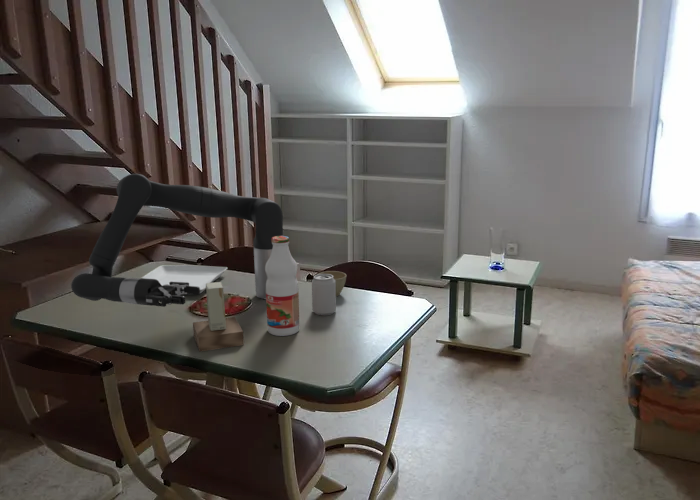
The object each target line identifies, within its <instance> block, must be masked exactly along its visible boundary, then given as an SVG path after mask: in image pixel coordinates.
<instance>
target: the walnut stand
mask: <svg viewBox="0 0 700 500" xmlns="http://www.w3.org/2000/svg"><path fill="white" fill-rule="evenodd" d="M225 321H226V329H222V330H214V331H211V330H210V327H209V321H208V320H204V321H203V320H202V321H196V322H192V330H193V337H194V340H195V343H196V346H197V348H198V351H199V352H206V351H212V350H214V351H215V350H219V349H225V348H226V349H227V348H233V347H239V346H244V345H245V343H244V342H245V341H244V331H243V329H242V327H241V325H240V324H239V321H238V320H237V318H236V317H235V316H232V317H231V316H230V317H225Z"/></svg>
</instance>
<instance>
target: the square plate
mask: <svg viewBox="0 0 700 500" xmlns="http://www.w3.org/2000/svg"><path fill="white" fill-rule="evenodd" d="M227 270H228V267H227V266H212V265H211V266H210V265H197V264H196V265H193V264H189V265H188V264H182V265H181V264H178V265H177V264H175V265H173V264H171V265H168V264H167V265H165V264H164V265H159V266H157V267H156V268H154V269H152V270H151V271H149V272H148V273H146V274H145V275H142V277H141V278H146V279H156V280H158V281H159V283H160V284H161V285H162V286H163V285H166V284H168V285H170V284H169V282H187V283H189V286H196V287H199V288H200V294H202V293H203V292H204V291H206V283H214V281H216V280H217V279H218V278H220V277H221V276H223V274H224V273H225V271H227ZM183 289H184V288H183ZM180 292H182V291H180ZM176 293H177V291H175V294H176Z"/></svg>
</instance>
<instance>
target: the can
mask: <svg viewBox="0 0 700 500" xmlns="http://www.w3.org/2000/svg"><path fill="white" fill-rule="evenodd" d="M336 299H337V297H336V282H335V279H334V278H333V275H331V274H319V273H317V274H315V275H313V279H312V280H311V306H312V310H311V311H312V312H313V313H315V314H316V315H318V316H330V315H333V314H334V313H335V312H336V310H337V303H336V302H337V300H336ZM332 313H333V314H332Z"/></svg>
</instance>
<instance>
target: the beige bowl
mask: <svg viewBox="0 0 700 500" xmlns="http://www.w3.org/2000/svg"><path fill="white" fill-rule="evenodd" d="M318 274H331V275H333V278H334V279H335V282H336V298H337V297H339V296H340V294H341V293H342V291H343V290H344V286H345V284H346V281H347V274H346V273H345V272H342V271H338V270H337V271H336V270H326V271H322V272H319V273H318Z"/></svg>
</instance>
